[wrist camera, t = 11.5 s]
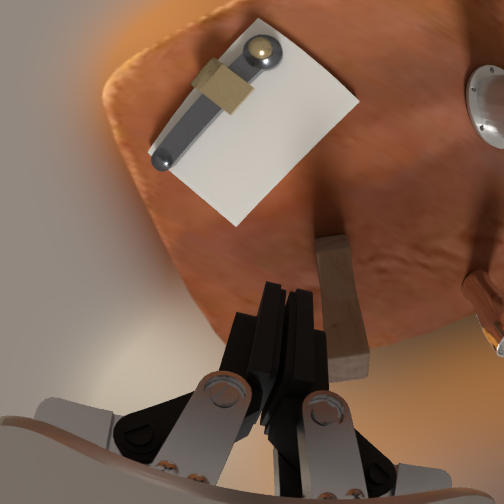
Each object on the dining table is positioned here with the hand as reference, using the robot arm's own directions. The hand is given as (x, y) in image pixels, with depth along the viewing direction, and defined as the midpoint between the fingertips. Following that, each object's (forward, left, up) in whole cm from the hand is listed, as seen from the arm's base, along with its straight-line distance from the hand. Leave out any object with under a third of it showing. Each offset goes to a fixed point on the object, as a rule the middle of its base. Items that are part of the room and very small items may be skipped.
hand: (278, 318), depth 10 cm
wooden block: (+6, +14, -29) cm, 33 cm away
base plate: (0, -8, -29) cm, 30 cm away
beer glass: (-10, +36, -29) cm, 47 cm away
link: (0, -13, -27) cm, 30 cm away
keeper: (-5, -12, -28) cm, 31 cm away
